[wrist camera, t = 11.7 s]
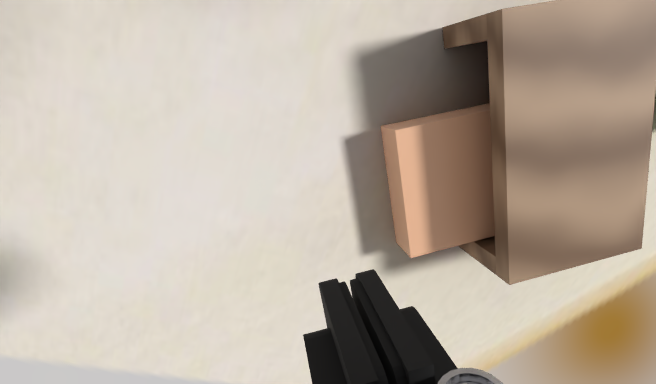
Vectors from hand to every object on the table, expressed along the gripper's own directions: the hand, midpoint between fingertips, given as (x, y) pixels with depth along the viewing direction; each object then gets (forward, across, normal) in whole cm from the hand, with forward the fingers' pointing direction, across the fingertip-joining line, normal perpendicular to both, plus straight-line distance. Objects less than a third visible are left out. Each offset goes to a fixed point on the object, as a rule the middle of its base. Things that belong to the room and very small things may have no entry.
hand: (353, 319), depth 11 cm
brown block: (+19, -18, +1) cm, 26 cm away
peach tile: (+19, -14, +3) cm, 24 cm away
